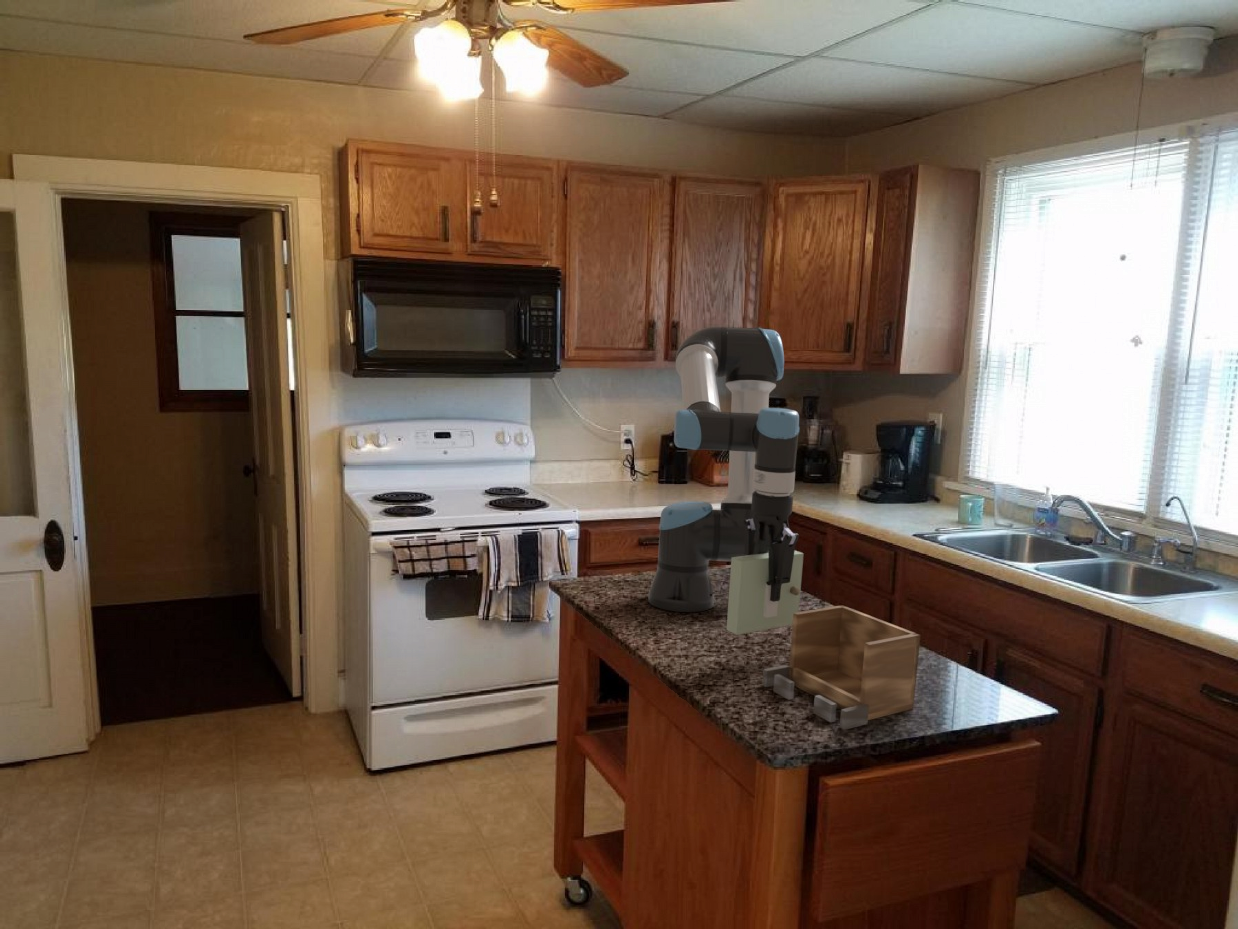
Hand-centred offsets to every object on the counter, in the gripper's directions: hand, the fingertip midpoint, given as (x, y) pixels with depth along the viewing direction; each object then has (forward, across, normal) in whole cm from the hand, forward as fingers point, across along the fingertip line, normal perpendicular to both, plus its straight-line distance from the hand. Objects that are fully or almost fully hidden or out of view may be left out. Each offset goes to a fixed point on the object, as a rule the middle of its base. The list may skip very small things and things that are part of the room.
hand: (763, 613), depth 169 cm
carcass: (+9, +20, +1) cm, 22 cm away
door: (+3, 0, 0) cm, 3 cm away
